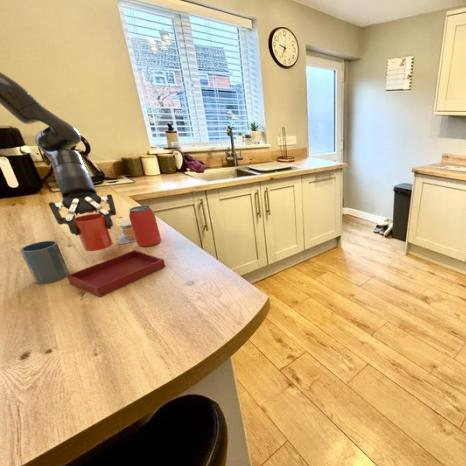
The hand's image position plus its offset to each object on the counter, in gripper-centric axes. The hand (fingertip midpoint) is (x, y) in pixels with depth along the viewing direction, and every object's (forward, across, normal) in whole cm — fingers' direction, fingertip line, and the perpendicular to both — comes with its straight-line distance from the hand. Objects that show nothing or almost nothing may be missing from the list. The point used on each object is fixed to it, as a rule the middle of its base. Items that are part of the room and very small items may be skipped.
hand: (93, 230), depth 81 cm
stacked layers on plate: (-3, -10, -15) cm, 18 cm away
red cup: (+3, 0, -5) cm, 6 cm away
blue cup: (+9, +11, -3) cm, 15 cm away
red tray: (+17, -2, +4) cm, 17 cm away
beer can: (+4, -12, -8) cm, 16 cm away
